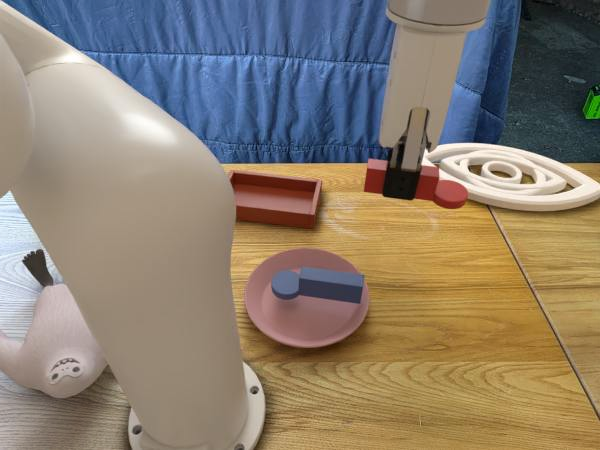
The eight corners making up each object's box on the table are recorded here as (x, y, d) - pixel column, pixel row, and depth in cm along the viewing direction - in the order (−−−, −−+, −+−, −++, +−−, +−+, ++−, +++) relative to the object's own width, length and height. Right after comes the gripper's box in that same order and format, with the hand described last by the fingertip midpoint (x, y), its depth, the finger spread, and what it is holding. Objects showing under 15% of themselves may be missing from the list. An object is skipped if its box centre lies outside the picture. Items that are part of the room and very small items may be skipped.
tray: (321, 193, 67) (322, 179, 66) (313, 229, 62) (314, 215, 60) (231, 183, 69) (230, 169, 67) (216, 217, 63) (214, 202, 61)
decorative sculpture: (405, 143, 78) (407, 136, 77) (581, 158, 75) (586, 150, 74) (409, 197, 67) (411, 189, 66) (615, 217, 64) (621, 208, 63)
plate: (258, 371, 46) (258, 361, 44) (236, 270, 56) (234, 259, 55) (387, 340, 49) (390, 329, 47) (343, 249, 59) (344, 238, 57)
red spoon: (464, 189, 46) (472, 166, 44) (467, 211, 44) (475, 187, 42) (365, 176, 48) (369, 153, 46) (362, 197, 45) (366, 173, 43)
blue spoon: (268, 297, 50) (267, 280, 48) (274, 273, 53) (274, 256, 51) (359, 310, 49) (362, 293, 47) (361, 285, 52) (364, 268, 50)
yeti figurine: (125, 213, 56) (193, 318, 43) (135, 253, 60) (200, 360, 47) (-65, 273, 46) (-50, 429, 34) (-38, 315, 50) (-15, 469, 38)
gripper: (393, -33, 40) (368, 144, 52) (381, 27, 28) (353, 236, 41) (480, -27, 39) (433, 152, 51) (505, 38, 27) (437, 248, 40)
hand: (398, 188), depth 46 cm, fingers closed on red spoon
